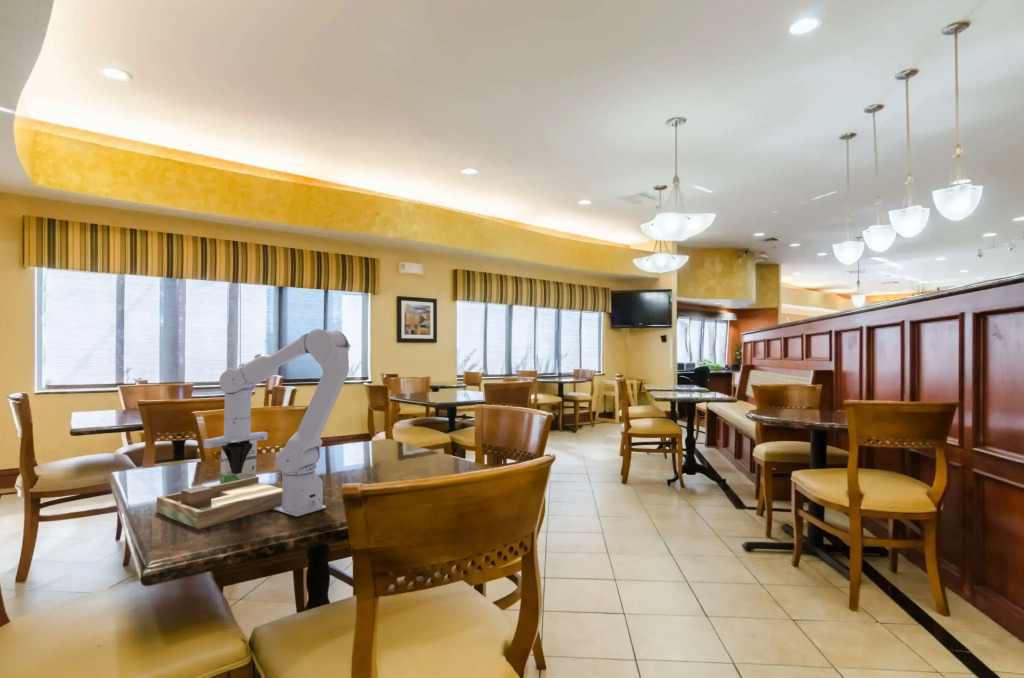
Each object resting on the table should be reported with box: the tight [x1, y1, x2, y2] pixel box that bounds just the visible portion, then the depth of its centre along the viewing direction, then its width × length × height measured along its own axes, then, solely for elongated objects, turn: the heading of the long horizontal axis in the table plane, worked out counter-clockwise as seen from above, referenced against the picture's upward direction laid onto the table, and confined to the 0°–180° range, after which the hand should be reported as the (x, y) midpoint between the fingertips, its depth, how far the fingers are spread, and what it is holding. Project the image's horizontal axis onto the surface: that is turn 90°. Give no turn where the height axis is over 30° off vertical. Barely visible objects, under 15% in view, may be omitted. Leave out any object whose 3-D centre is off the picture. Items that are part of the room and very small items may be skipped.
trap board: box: [156, 476, 282, 530], centre depth 120 cm, size 20×24×4 cm
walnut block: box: [180, 485, 212, 509], centre depth 113 cm, size 4×4×4 cm
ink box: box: [219, 440, 258, 484], centre depth 144 cm, size 9×5×12 cm, turn 132°
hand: (236, 473), depth 121 cm, fingers closed
